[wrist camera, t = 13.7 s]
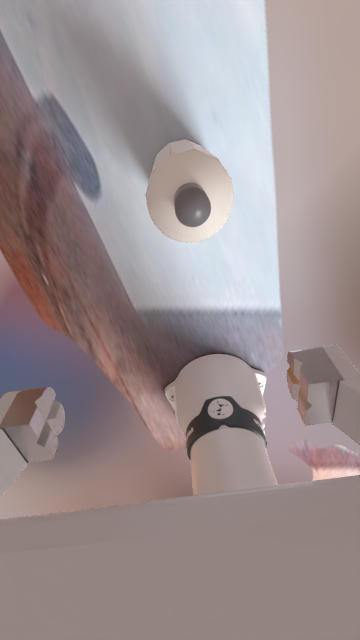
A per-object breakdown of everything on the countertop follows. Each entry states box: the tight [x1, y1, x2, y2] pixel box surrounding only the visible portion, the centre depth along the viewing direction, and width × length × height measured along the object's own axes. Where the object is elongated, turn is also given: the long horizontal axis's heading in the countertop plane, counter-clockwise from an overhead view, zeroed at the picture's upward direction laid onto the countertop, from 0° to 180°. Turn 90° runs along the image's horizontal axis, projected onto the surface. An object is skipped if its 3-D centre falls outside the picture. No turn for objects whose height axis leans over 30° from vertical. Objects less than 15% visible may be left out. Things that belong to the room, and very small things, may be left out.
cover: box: [146, 139, 234, 243], centre depth 31 cm, size 7×7×17 cm
